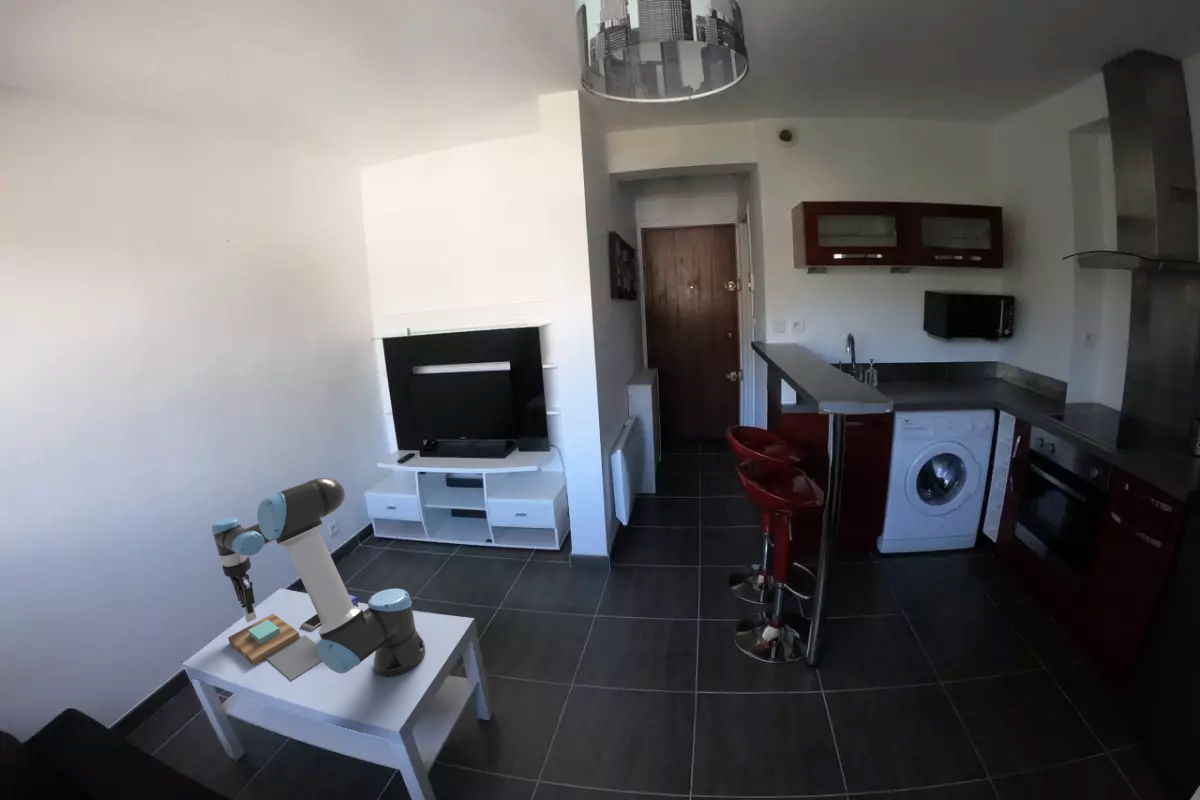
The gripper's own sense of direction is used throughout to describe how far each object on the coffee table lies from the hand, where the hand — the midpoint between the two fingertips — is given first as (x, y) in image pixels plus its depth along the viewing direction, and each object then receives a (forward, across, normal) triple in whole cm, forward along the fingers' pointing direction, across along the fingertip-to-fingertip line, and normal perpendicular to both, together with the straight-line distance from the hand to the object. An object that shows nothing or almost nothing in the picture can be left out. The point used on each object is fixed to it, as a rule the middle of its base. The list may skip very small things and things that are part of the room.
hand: (251, 619), depth 167 cm
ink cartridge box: (+4, -30, -18) cm, 35 cm away
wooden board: (+4, -10, 0) cm, 11 cm away
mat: (+4, -29, -2) cm, 30 cm away
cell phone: (+5, -16, -15) cm, 23 cm away
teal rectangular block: (+2, -10, 0) cm, 10 cm away
